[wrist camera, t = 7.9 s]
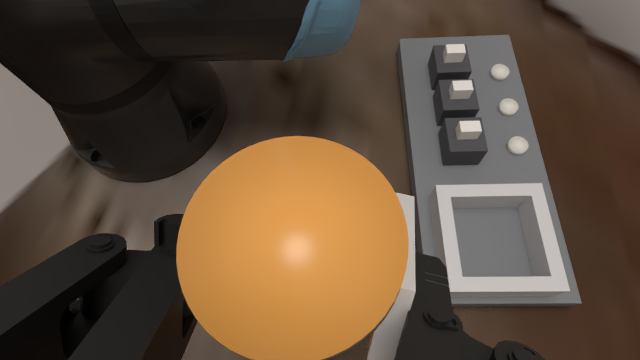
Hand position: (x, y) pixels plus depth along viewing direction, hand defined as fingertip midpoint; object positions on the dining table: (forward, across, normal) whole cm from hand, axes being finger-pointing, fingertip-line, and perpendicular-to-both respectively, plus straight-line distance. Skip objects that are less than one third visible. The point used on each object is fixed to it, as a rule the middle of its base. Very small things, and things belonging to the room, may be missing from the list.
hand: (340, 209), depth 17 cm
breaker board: (+21, +9, -2) cm, 23 cm away
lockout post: (0, 0, -5) cm, 5 cm away
